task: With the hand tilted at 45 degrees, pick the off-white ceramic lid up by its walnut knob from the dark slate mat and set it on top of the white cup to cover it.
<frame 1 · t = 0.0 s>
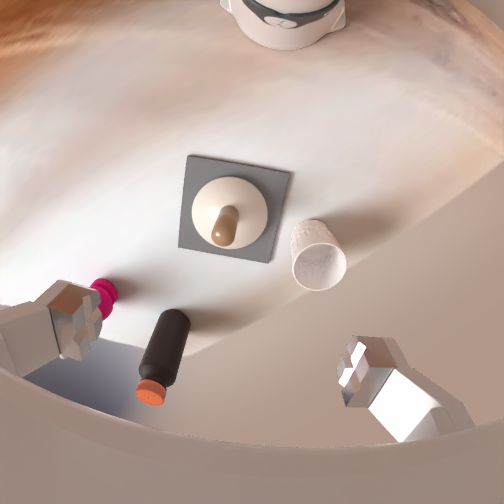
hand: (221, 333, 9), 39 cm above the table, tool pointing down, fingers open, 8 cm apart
lid: (229, 212, 48), point 1 cm above the table, touching slate mat
bottle: (175, 320, 60), on the table
white cup: (310, 236, 50), on the table
slate mat: (230, 211, 48), on the table
pepper mill: (105, 290, 57), on the table
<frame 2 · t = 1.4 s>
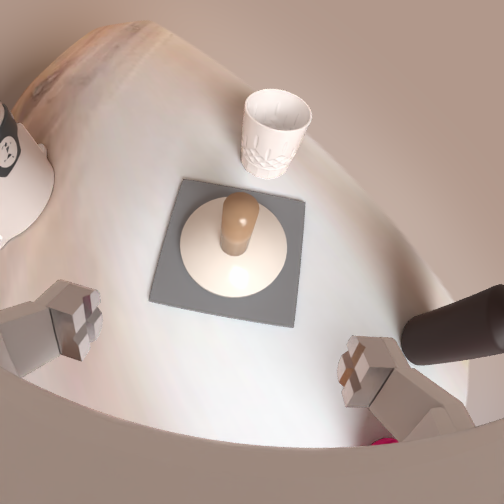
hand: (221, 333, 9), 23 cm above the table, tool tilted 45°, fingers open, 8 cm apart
lid: (233, 246, 34), point 1 cm above the table, touching slate mat
bottle: (418, 340, 33), on the table
white cup: (264, 161, 40), on the table
slate mat: (232, 248, 35), on the table
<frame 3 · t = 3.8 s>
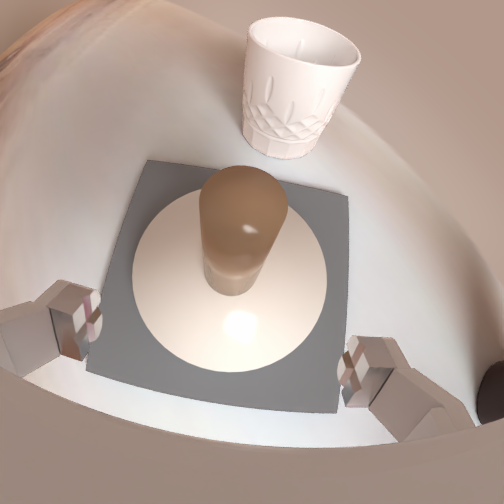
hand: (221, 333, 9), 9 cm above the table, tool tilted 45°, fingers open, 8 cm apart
lid: (229, 275, 19), point 1 cm above the table, touching slate mat
bottle: (493, 395, 18), on the table
white cup: (278, 133, 25), on the table
slate mat: (229, 278, 19), on the table
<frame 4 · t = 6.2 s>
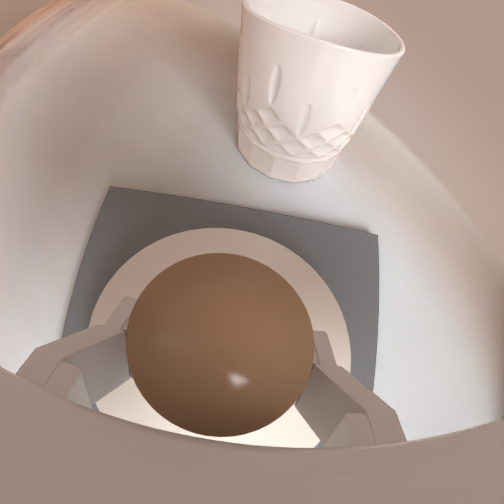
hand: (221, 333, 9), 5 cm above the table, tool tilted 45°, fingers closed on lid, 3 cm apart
lid: (217, 358, 13), point 1 cm above the table, touching gripper, slate mat
white cup: (285, 145, 19), on the table
slate mat: (217, 358, 14), on the table
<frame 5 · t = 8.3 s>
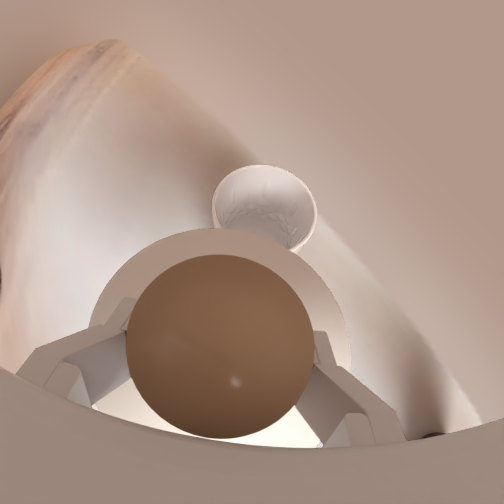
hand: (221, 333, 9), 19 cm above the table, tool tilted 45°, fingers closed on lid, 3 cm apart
lid: (217, 358, 13), point 15 cm above the table, touching gripper
white cup: (250, 256, 31), on the table
when the fingers open (16 cm above the table, at t = 10.5 s): lid drops 2 cm, resting on white cup.
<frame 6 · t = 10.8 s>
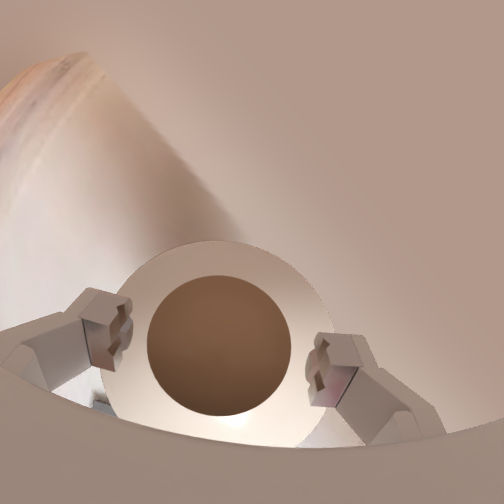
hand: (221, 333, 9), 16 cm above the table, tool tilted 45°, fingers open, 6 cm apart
lid: (217, 357, 14), point 10 cm above the table, touching white cup
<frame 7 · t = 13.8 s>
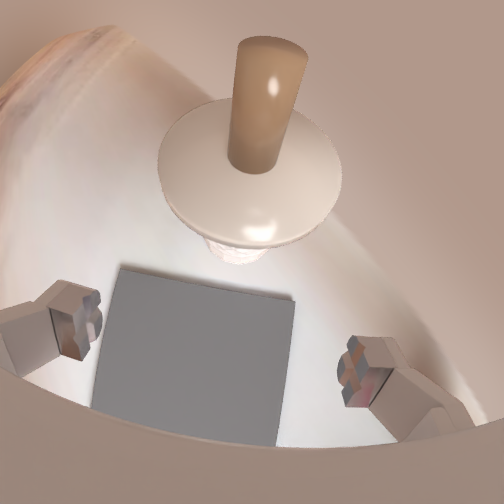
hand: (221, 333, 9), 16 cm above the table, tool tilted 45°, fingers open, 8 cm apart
lid: (250, 166, 19), point 10 cm above the table, touching white cup
white cup: (238, 232, 29), on the table, touching lid
slate mat: (189, 377, 23), on the table
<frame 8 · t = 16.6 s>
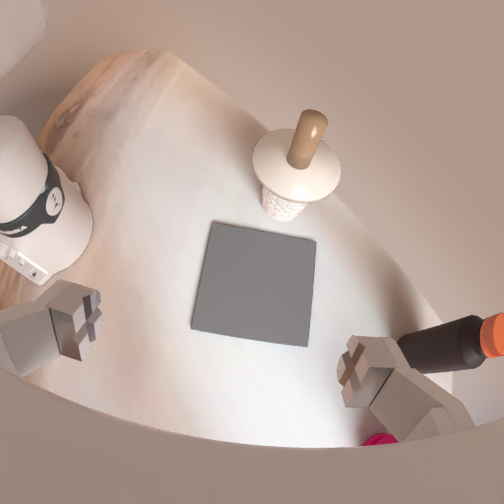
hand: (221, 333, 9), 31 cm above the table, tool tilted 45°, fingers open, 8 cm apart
lid: (296, 165, 39), point 10 cm above the table, touching white cup
bottle: (408, 354, 41), on the table
white cup: (281, 204, 48), on the table, touching lid
slate mat: (257, 283, 42), on the table
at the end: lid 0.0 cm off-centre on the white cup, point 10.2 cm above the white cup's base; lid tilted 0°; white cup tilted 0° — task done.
